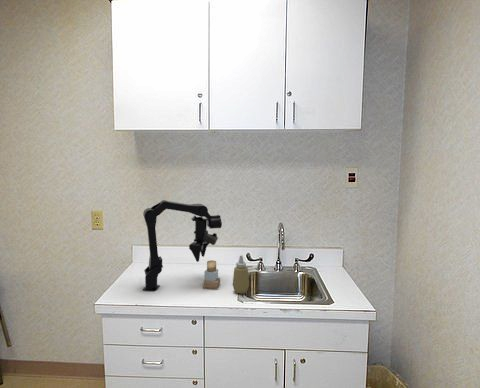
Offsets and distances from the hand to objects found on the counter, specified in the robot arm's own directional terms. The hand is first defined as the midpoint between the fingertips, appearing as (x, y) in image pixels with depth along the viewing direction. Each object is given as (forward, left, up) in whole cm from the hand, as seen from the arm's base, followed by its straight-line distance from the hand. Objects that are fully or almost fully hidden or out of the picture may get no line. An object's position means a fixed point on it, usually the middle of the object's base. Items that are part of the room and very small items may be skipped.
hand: (200, 259), depth 186 cm
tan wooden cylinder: (-4, -7, -4) cm, 9 cm away
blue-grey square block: (-4, -7, -9) cm, 12 cm away
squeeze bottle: (-8, -22, -13) cm, 27 cm away
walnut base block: (-4, -7, -13) cm, 15 cm away
